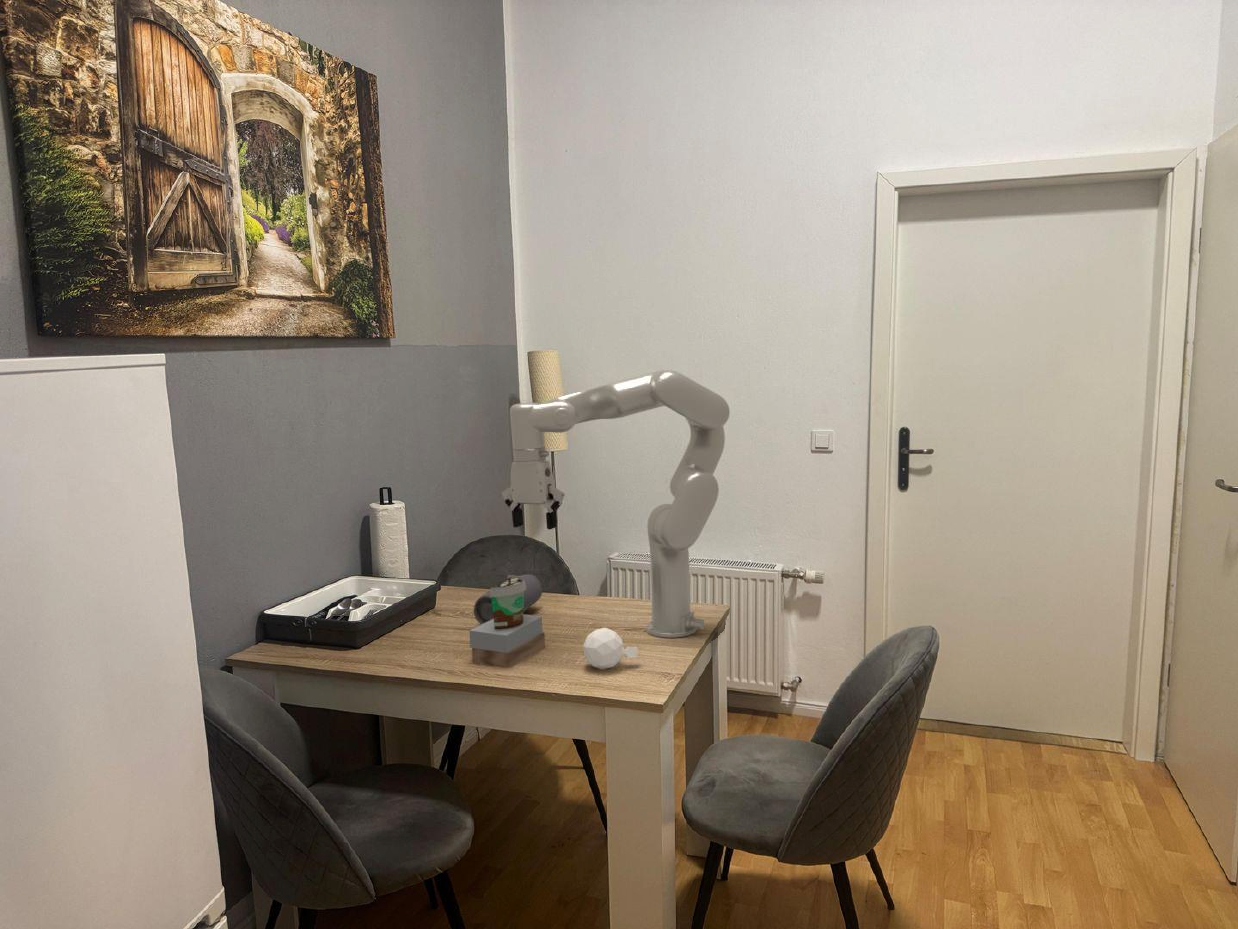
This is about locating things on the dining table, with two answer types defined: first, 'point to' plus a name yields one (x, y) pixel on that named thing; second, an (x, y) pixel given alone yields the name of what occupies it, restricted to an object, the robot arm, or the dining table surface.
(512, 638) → the grey slab
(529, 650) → the walnut slab
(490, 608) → the bluetooth speaker
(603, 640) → the perfume bottle
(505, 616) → the food container
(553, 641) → the dining table surface
